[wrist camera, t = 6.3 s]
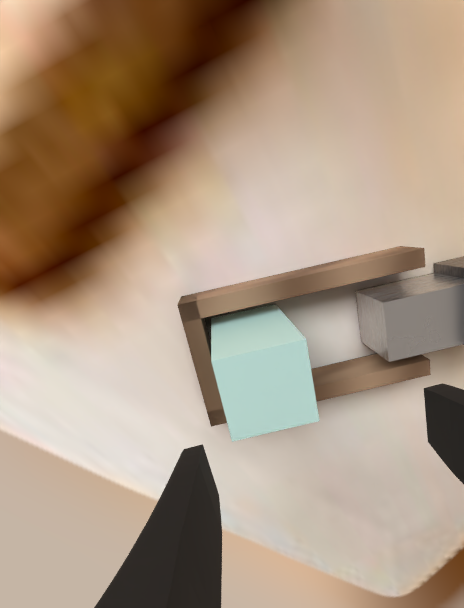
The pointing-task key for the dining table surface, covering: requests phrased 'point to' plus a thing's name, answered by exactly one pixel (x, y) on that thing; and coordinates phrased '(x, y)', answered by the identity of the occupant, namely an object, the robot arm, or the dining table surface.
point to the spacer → (262, 372)
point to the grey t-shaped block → (414, 313)
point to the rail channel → (293, 284)
